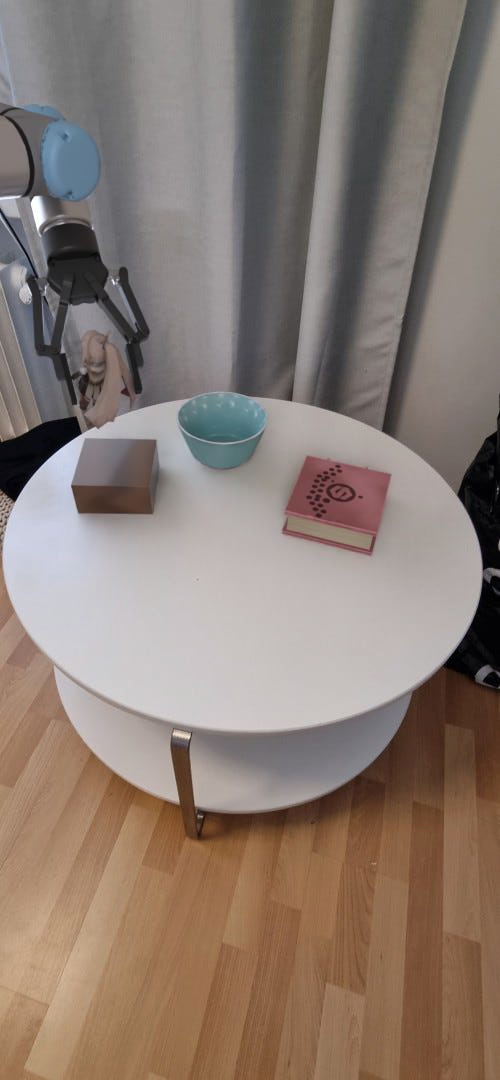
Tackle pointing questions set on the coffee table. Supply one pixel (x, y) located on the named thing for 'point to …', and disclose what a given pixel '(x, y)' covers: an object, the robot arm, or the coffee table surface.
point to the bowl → (222, 427)
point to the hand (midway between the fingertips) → (107, 397)
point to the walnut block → (116, 476)
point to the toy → (102, 378)
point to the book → (337, 505)
